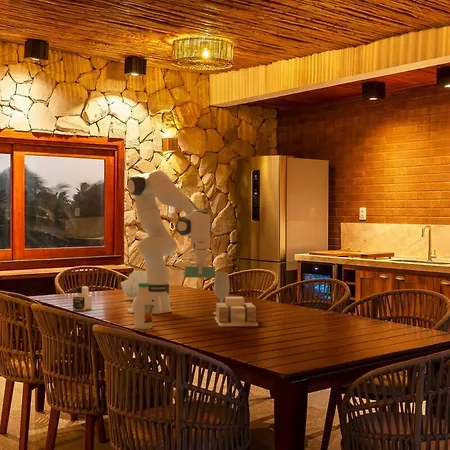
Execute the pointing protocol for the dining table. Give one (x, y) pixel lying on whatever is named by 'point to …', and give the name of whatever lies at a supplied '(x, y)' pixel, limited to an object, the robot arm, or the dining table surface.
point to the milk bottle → (143, 308)
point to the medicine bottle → (82, 299)
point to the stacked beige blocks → (235, 313)
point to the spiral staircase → (134, 283)
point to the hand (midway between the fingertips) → (199, 273)
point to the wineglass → (221, 286)
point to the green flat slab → (193, 272)
